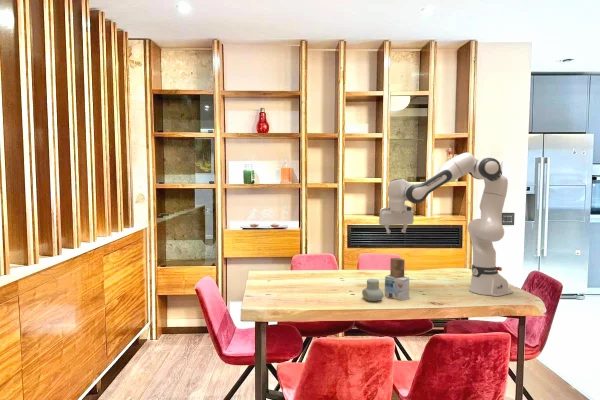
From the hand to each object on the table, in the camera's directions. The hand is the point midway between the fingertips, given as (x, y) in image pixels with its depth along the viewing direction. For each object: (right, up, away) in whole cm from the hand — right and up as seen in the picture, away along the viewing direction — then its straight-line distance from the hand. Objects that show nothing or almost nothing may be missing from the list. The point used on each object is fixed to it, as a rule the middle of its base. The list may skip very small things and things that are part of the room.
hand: (396, 232), depth 206 cm
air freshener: (-17, -32, -19) cm, 41 cm away
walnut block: (-3, -21, -15) cm, 26 cm away
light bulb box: (-3, -32, -14) cm, 35 cm away
